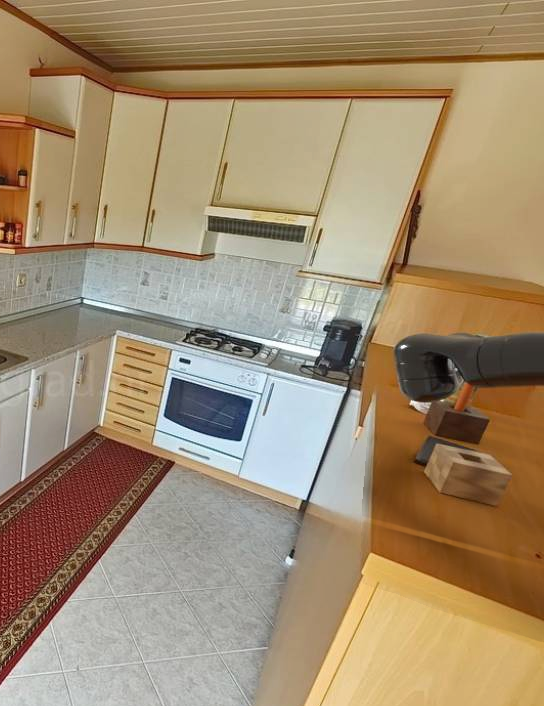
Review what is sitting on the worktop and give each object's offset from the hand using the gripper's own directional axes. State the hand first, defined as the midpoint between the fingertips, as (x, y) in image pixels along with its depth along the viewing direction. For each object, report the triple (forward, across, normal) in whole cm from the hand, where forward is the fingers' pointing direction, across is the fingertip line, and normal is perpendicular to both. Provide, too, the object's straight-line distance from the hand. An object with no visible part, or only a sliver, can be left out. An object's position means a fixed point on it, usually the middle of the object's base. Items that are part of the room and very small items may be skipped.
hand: (475, 347), depth 95 cm
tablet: (-4, +4, -22) cm, 23 cm away
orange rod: (+14, 0, -22) cm, 26 cm away
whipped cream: (+27, -8, -22) cm, 36 cm away
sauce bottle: (+38, -5, -22) cm, 45 cm away
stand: (-18, +8, -22) cm, 29 cm away
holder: (+14, 0, -22) cm, 26 cm away
